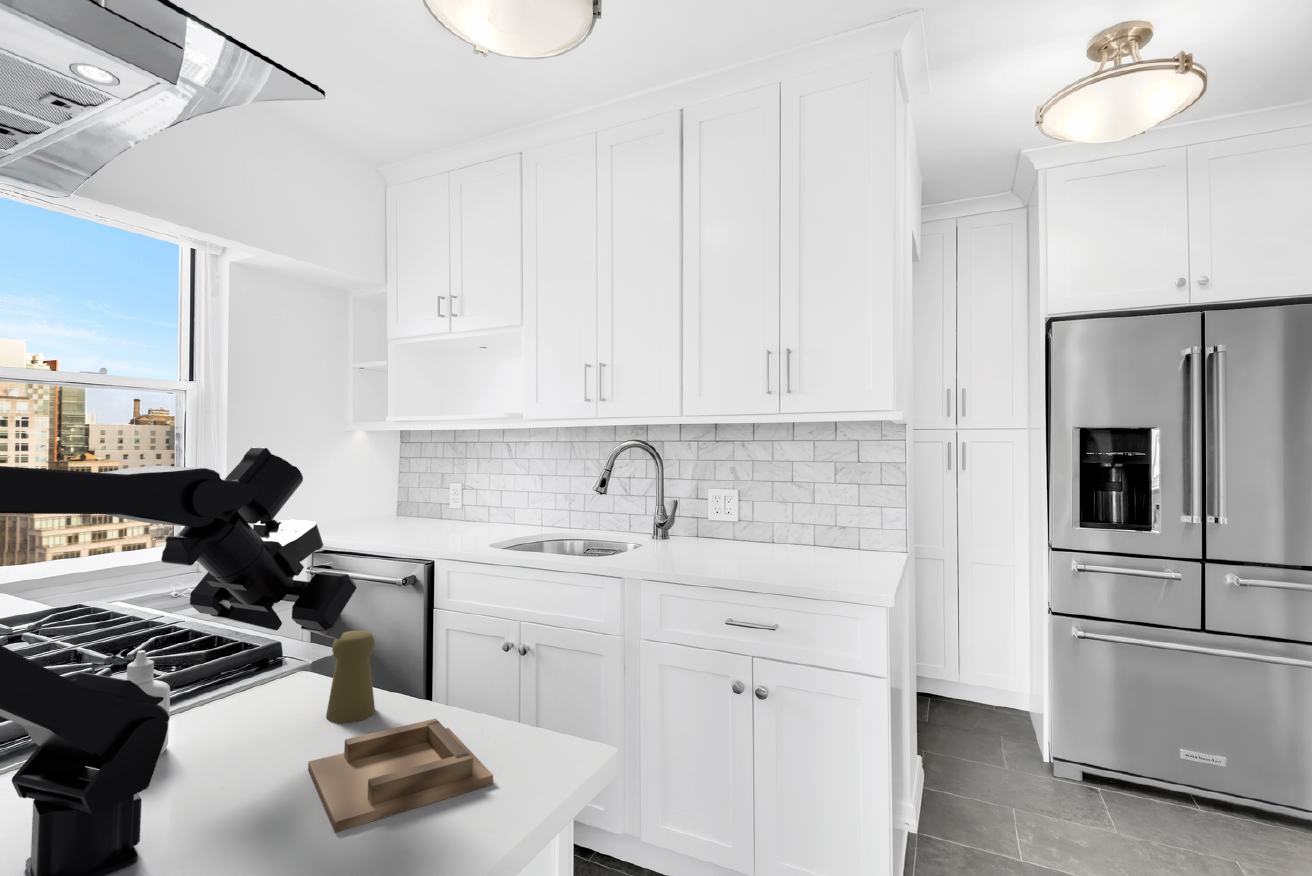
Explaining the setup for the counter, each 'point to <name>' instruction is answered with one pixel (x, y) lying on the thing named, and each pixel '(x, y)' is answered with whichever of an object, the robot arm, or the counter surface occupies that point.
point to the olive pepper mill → (352, 678)
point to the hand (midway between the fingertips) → (309, 631)
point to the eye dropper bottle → (149, 683)
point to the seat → (395, 773)
